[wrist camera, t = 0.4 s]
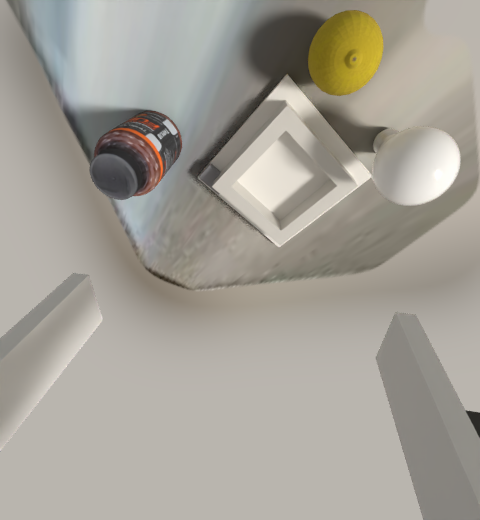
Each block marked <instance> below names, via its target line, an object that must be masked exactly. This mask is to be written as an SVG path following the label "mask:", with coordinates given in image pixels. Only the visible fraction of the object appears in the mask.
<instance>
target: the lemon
mask: <svg viewBox="0 0 480 520" xmlns="http://www.w3.org/2000/svg"><path fill="white" fill-rule="evenodd" d="M382 53H383V37H382V34H381V30H380V27H379V26H378V24H377V23H376V21H375V20H374V19H373V18H372V17H370V16H369V15H368V14H367V13H364V12H361V11H358V10H350V11H344V12H341V13H338V14H336V15H334V16H333V17H331V18H330V19H328V20H327V21H326V22H325V23H324V24H323V25H322V26H321V27H320V28H319V30H318V31H317V33H316V35H315V36H314V38H313V40H312V43H311V46H310V49H309V56H308V67H309V72H310V75H311V78H312V80H313V81H314V83H315V84H316V86H317V87H318V88H320V89H321V90H322V91H323V92H326V93H328V94H330V95H337V96H341V95H347V94H350V93H353V92H355V91H357V90H359V89H360V88H362V87H363V86H364V85H366V83H367V82H368V81H369V80H370V79H371V78H372V77H373V75H374V74H375V72H376V70H377V69H378V66H379V64H380V61H381V59H382Z"/></svg>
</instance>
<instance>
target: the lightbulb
mask: <svg viewBox="0 0 480 520" xmlns="http://www.w3.org/2000/svg"><path fill="white" fill-rule="evenodd" d="M373 148H374V151H375V152H376V153H377V154H376V156H375V159H374V162H373V166H372V178H373V182H374V185H375V187H376V189H377V190H378V192H379V193H380V194H381V195H382V196H383V197H384V198H385V199H387V200H388V201H390V202H393V203H395V204H399V205H405V206H414V205H420V204H424V203H427V202H430V201H432V200H434V199H436V198H437V197H439V196H440V195H442V194H443V193H444V192H445V191H446V190H447V189H448V188H449V187H450V186H451V185H452V183H453V182H454V180H455V179H456V177H457V174H458V172H459V168H460V162H461V157H460V151H459V148H458V146H457V144H456V142H455V141H454V139H453V138H452V137H451V136H450V135H449V134H447V133H446V132H444V131H442V130H440V129H438V128H434V127H429V126H418V127H412V128H408V129H405V130H403V131H401V132H398V131H397V130H395V129H385V130H383V131H381V132H380V133H379V134H378V135H377V136H376V138H375V139H374V142H373Z"/></svg>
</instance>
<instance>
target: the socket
mask: <svg viewBox="0 0 480 520" xmlns="http://www.w3.org/2000/svg"><path fill="white" fill-rule="evenodd" d="M371 177H372V175H371V174H370V172H369V171H368V170H367V169H366V167H365V166H364V165H363V164H362V163H361V161H360V160H359V159H358V158H357V157H356V155H355V154H354V153H353V152H352V151H351V150H350V148H349V147H348V146H347V145H346V144H345V142H344V141H343V140H342V139H341V138H340V136H339V135H338V134H337V133H336V132H335V130H334V129H333V128H332V127H331V126H330V124H329V123H328V122H327V121H326V120H325V118H324V117H323V116H322V115H321V114H320V112H319V111H318V110H317V109H316V108H315V106H314V105H313V104H312V103H311V102H310V100H309V99H308V98H307V97H306V96H305V94H304V93H303V92H302V91H301V90H300V88H299V87H298V86H297V85H296V84H295V82H294V81H293V80H292V79H291V78H290V76H289V75H288V74H286V75H285V76H284V77H283V79H282V80H281V81H280V82H279V83H278V84H277V85H276V87H275V88H274V89H273V90H272V91H271V92H270V94H269V95H268V96H267V97H266V98H265V99H264V100H263V102H262V103H261V104H260V105H259V106H258V107H257V109H256V110H255V111H254V112H253V113H252V114H251V115H250V117H249V118H248V119H247V120H246V121H245V122H244V123H243V125H242V126H241V127H240V128H239V129H238V130H237V132H236V133H235V134H234V135H233V136H232V137H231V138H230V140H229V141H228V142H227V143H226V144H225V145H224V147H223V148H222V149H221V150H220V151H219V152H218V153H217V155H216V156H215V157H214V158H213V159H212V160H211V162H210V163H209V164H208V165H207V166H206V167H205V168H204V170H203V171H202V172H201V173H200V174H199V176H198V179H199V180H200V181H202V182H203V183H204V184H205V185H206V186H207V187H209V188H210V189H211V190H212V191H213V192H215V193H216V194H217V195H218V196H219V197H220V198H222V199H223V200H224V201H225V202H226V203H227V204H229V205H230V206H231V207H232V208H233V209H234V210H236V211H237V212H238V213H239V214H240V215H242V216H243V217H244V218H245V219H246V220H247V221H249V222H250V223H251V224H252V225H253V226H254V227H256V228H257V229H258V230H259V231H260V232H261V233H263V234H264V235H265V236H266V237H267V238H269V239H270V240H271V241H272V242H273V243H274V244H276V245H277V246H278V247H280V246H282V245H283V244H284V243H285V242H287V241H288V240H289V239H291V238H292V237H293V236H295V235H296V234H297V233H299V232H300V231H301V230H303V229H304V228H305V227H306V226H308V225H309V224H310V223H312V222H313V221H314V220H316V219H317V218H318V217H320V216H321V215H322V214H324V213H325V212H326V211H327V210H329V209H330V208H331V207H333V206H334V205H335V204H337V203H338V202H339V201H341V200H342V199H343V198H345V197H346V196H347V195H348V194H350V193H351V192H352V191H354V190H355V189H356V188H358V187H359V186H360V185H362V184H363V183H364V182H366V181H367V180H368V179H370V178H371Z"/></svg>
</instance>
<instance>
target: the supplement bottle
mask: <svg viewBox="0 0 480 520" xmlns="http://www.w3.org/2000/svg"><path fill="white" fill-rule="evenodd" d="M181 148H182V139H181V135H180V132H179V130H178V128H177V127H176V125H175V124H174V122H173V121H172V120H171V119H169V117H167V116H165V115H164V114H162V113H159V112H155V111H145V112H142V113H139V114H138V115H136V116H134V117H132V118H131V119H129V120H128V121H126V122H124V123H123V124H121V125H119V126H117V127H116V128H114V129H112V130H111V131H109V132H108V133H106V134H104V135H103V136H102V137H101V138H100V139H99V141H98V142H97V144H96V147H95V151H94V159H93V160H92V162H91V164H90V175H91V178H92V180H93V182H94V184H95V185H96V187H97V188H98V189H99V190H100V191H101V192H102V193H104V194H105V195H107V196H109V197H111V198H114V199H118V200H124V199H128V198H130V197H132V196H141V195H144V194H147V193H149V192H150V191H151V190H153V189H154V188H155V187H156V185H157V184H158V183H159V182H160V181H161V179H162V178H163V177H164V175H165V174H166V173H167V171H168V170H169V169H170V168H171V166H172V165H173V164H174V162H175V161H176V160H177V159H178V157H179V155H180V152H181Z"/></svg>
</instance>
